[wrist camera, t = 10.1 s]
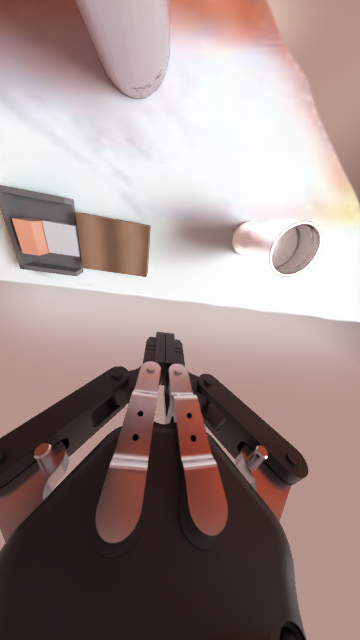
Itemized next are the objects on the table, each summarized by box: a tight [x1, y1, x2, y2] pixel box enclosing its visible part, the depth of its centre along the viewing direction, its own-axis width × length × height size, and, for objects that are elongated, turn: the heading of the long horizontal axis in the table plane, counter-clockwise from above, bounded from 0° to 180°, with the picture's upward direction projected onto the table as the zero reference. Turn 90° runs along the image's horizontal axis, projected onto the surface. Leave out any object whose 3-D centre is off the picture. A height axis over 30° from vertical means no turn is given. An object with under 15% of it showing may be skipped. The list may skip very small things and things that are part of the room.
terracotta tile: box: [12, 218, 50, 256], centre depth 28 cm, size 5×5×2 cm
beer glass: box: [232, 219, 322, 276], centre depth 27 cm, size 7×7×15 cm
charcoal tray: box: [0, 185, 83, 276], centre depth 30 cm, size 10×13×3 cm
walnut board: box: [75, 213, 151, 277], centre depth 31 cm, size 12×9×3 cm
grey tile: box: [42, 220, 81, 257], centre depth 30 cm, size 5×5×2 cm
